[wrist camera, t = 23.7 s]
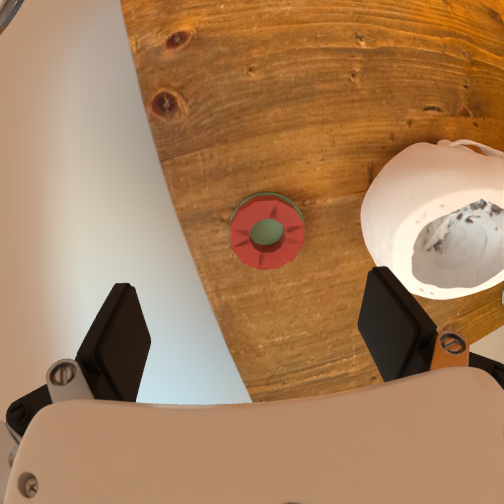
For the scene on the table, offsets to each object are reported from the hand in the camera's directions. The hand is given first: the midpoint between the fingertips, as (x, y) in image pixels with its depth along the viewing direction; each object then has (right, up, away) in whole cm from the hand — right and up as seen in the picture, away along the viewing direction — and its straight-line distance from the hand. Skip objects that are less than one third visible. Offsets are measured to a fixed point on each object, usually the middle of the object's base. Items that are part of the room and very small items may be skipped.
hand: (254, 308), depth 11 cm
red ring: (+1, +5, +19) cm, 20 cm away
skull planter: (+20, +10, +18) cm, 29 cm away
